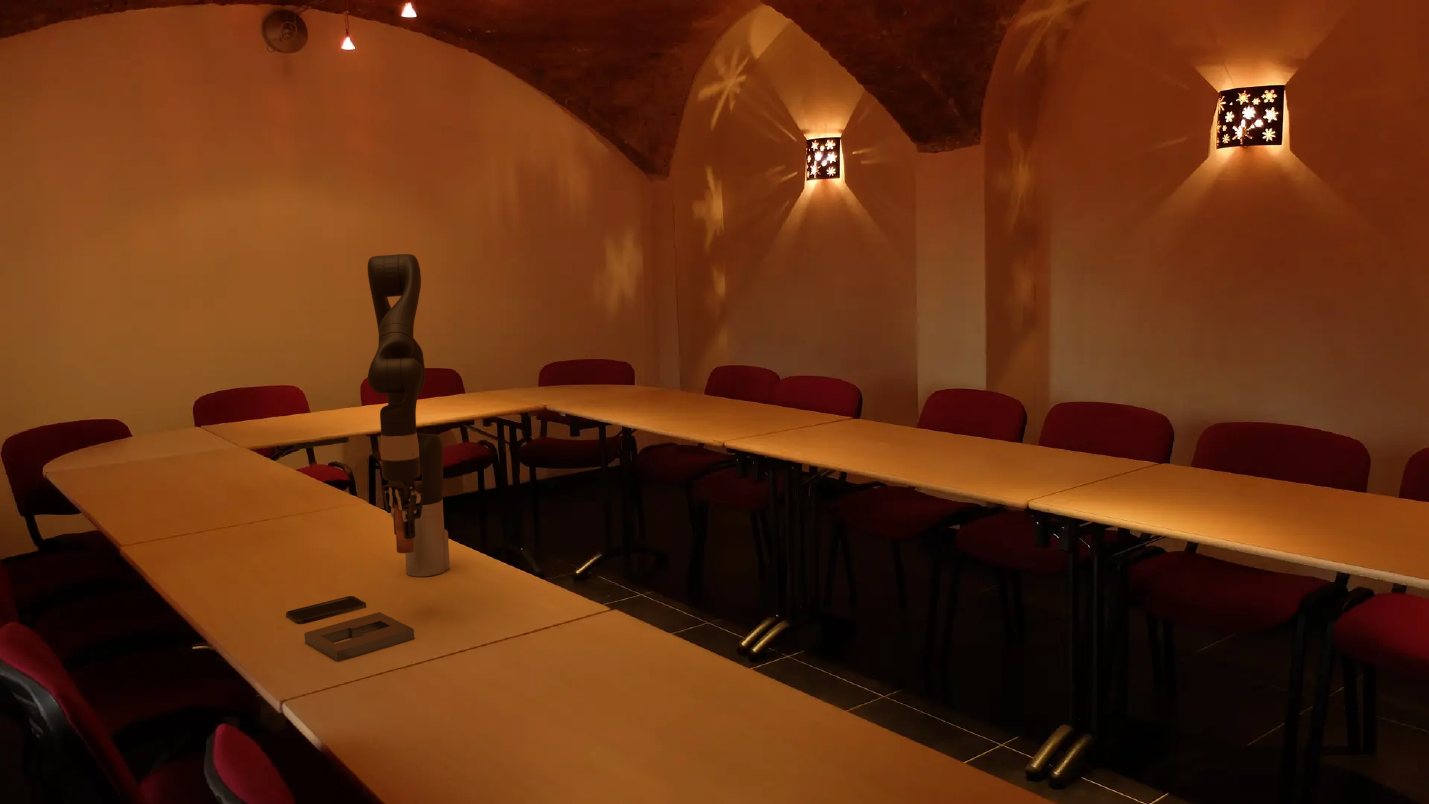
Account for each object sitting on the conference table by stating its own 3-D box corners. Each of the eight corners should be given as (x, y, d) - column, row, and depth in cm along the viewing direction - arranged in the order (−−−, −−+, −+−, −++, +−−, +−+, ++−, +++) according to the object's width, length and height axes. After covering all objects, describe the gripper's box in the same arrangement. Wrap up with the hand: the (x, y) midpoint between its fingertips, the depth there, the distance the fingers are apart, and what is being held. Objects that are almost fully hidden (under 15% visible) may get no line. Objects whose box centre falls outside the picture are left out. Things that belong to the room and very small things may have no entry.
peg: (409, 547, 225) (406, 501, 224) (417, 550, 223) (414, 504, 221) (393, 551, 223) (391, 504, 221) (402, 554, 220) (399, 507, 219)
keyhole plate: (380, 621, 222) (379, 612, 222) (414, 638, 212) (413, 628, 212) (305, 642, 211) (304, 632, 210) (337, 661, 201) (336, 651, 201)
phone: (283, 612, 226) (352, 595, 236) (284, 617, 226) (352, 600, 236) (298, 621, 220) (367, 603, 230) (299, 627, 220) (368, 608, 230)
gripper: (434, 457, 217) (438, 539, 220) (399, 448, 227) (404, 526, 230) (400, 462, 212) (405, 546, 215) (366, 453, 222) (371, 533, 225)
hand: (404, 536), depth 222 cm, fingers closed on peg, 3 cm apart
